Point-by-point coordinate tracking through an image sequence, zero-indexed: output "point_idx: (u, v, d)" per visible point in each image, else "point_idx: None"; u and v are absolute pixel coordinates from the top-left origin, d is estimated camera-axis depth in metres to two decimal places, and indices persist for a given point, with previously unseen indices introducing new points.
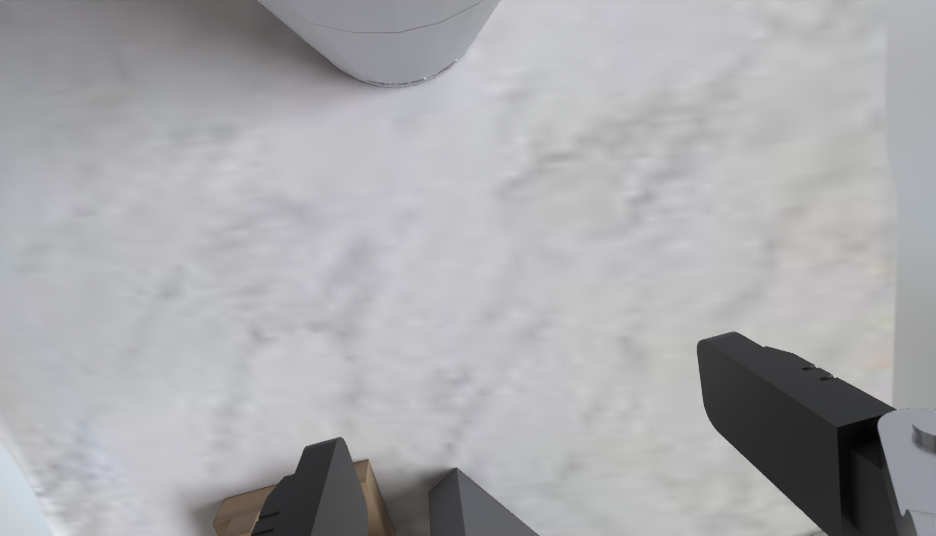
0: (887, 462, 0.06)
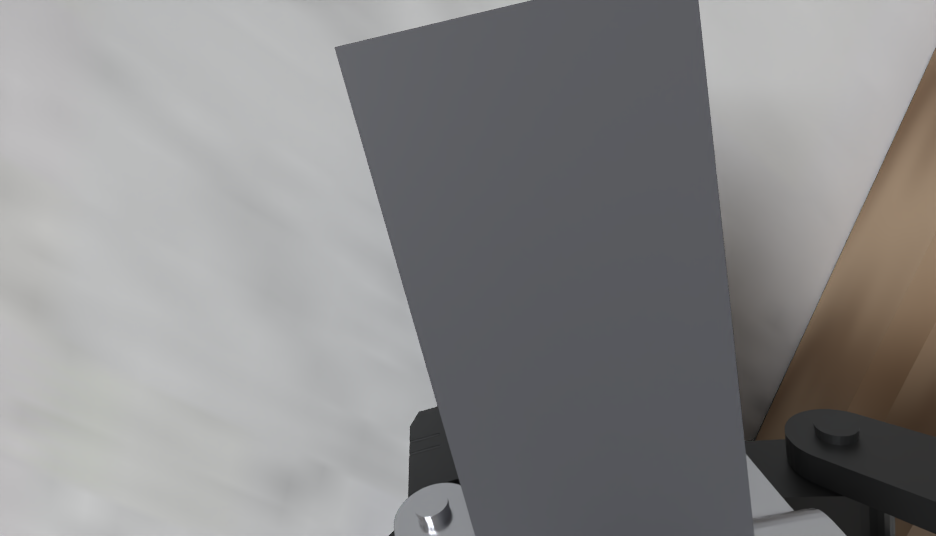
0: None
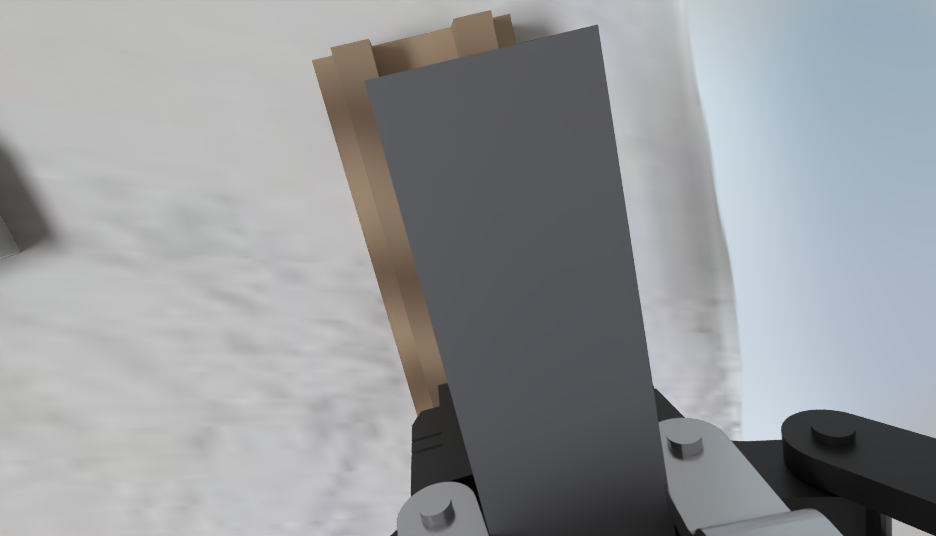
0: None
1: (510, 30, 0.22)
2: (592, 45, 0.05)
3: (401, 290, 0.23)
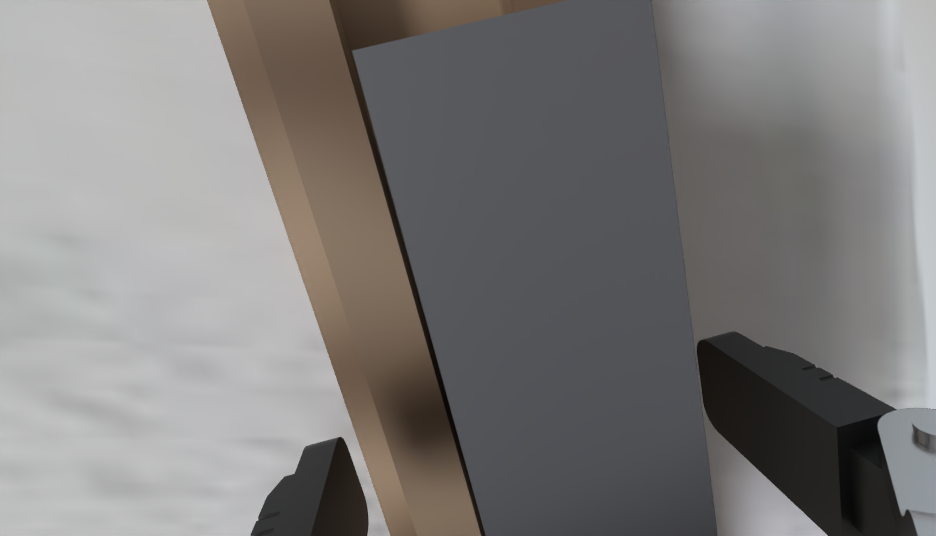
0: (887, 462, 0.06)
1: None
2: (641, 7, 0.04)
3: (382, 418, 0.12)
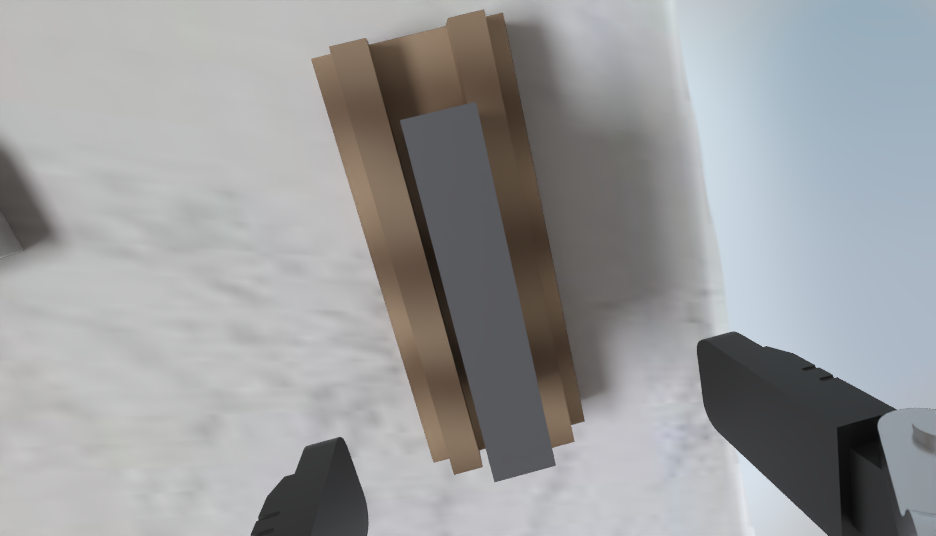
0: (887, 462, 0.06)
1: (503, 28, 0.23)
2: (474, 108, 0.16)
3: (399, 281, 0.23)
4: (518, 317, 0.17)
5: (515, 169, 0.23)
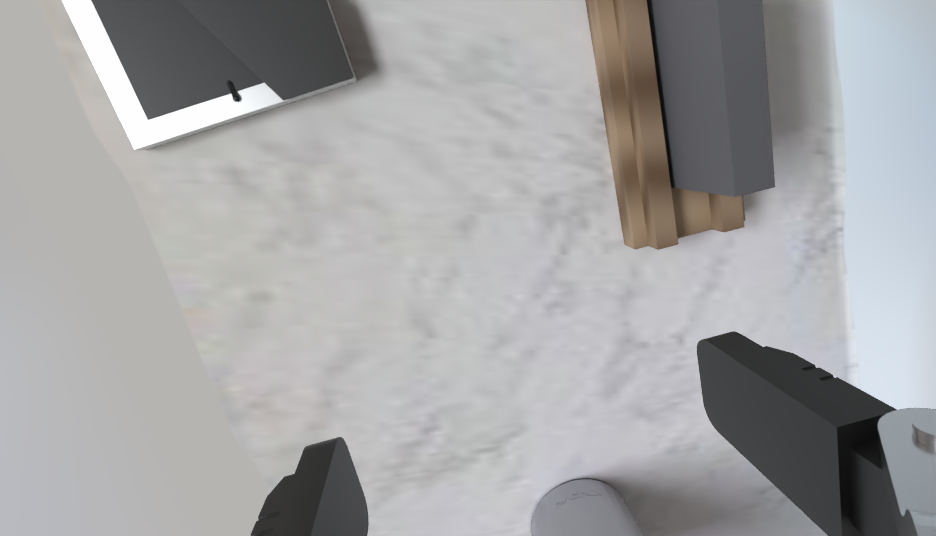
0: (887, 462, 0.06)
1: None
2: None
3: (636, 94, 0.33)
4: (764, 75, 0.27)
5: None
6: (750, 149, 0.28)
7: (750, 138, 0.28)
